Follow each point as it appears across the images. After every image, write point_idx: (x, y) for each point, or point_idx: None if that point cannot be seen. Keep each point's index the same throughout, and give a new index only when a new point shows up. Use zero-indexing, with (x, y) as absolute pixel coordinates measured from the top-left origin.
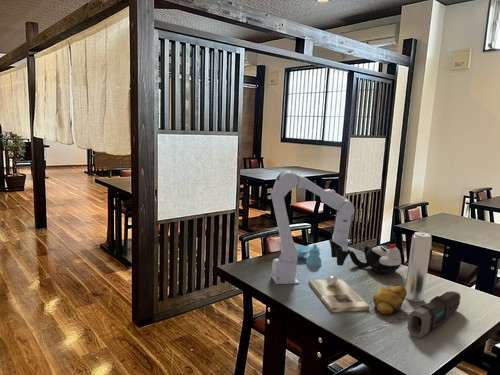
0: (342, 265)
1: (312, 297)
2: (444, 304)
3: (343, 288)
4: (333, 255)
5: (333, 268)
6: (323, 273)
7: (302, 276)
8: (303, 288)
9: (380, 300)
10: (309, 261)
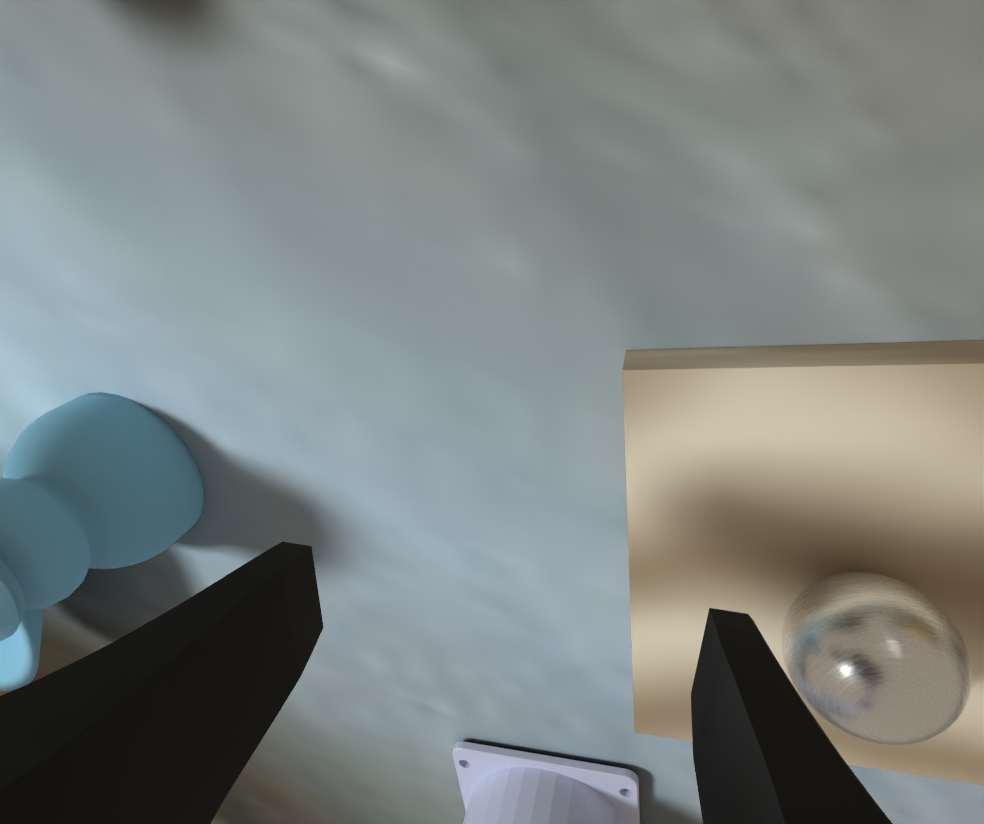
0: (748, 615)
1: (976, 793)
2: None
3: (976, 487)
4: (299, 643)
5: (185, 286)
6: (363, 464)
7: (468, 677)
8: None
9: None
10: (155, 554)
